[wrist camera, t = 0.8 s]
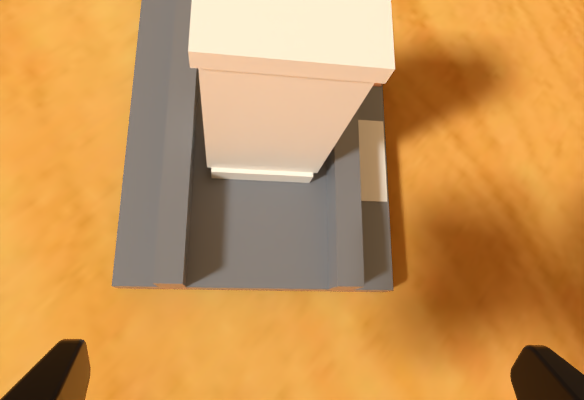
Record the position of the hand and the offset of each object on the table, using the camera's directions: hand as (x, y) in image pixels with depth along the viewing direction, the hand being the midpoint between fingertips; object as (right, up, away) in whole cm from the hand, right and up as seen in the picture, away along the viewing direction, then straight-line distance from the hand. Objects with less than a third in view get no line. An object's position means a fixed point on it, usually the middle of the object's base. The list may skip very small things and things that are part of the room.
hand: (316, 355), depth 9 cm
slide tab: (-2, +5, +14) cm, 15 cm away
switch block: (-2, +7, +15) cm, 17 cm away
